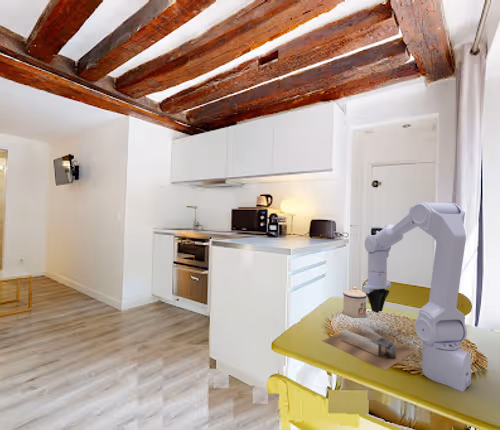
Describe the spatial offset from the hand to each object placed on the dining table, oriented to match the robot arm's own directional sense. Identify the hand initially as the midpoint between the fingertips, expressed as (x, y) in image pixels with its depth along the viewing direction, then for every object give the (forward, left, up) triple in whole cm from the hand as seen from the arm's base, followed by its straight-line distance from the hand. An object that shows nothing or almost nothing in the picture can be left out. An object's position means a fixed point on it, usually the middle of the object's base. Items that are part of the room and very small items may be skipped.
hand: (376, 311), depth 91 cm
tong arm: (-5, +9, -7) cm, 12 cm away
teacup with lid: (+16, -13, -9) cm, 22 cm away
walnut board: (-3, +11, -8) cm, 14 cm away
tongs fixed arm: (-4, +13, -7) cm, 15 cm away
